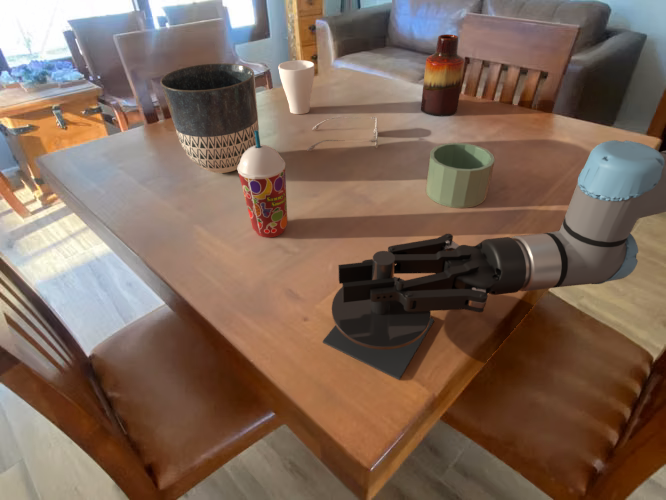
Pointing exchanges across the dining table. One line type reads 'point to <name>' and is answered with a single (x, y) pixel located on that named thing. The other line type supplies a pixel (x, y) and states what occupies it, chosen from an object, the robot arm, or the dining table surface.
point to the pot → (459, 174)
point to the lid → (379, 314)
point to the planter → (213, 112)
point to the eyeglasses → (342, 140)
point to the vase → (443, 78)
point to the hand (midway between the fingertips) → (341, 283)
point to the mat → (377, 352)
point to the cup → (297, 84)
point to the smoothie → (264, 188)
